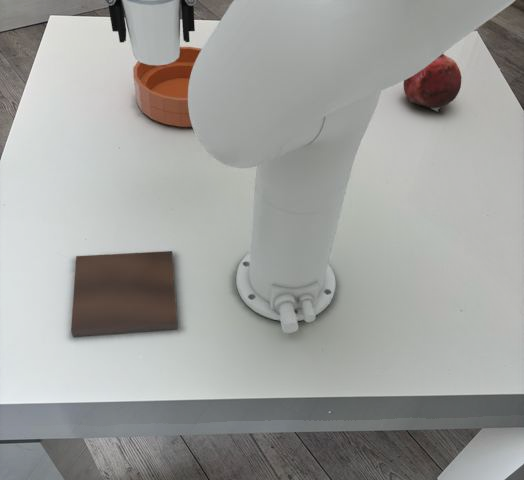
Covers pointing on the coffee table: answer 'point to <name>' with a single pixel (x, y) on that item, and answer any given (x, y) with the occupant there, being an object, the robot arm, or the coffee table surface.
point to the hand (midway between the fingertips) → (154, 35)
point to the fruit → (434, 84)
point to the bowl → (166, 88)
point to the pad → (124, 294)
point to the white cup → (153, 30)
